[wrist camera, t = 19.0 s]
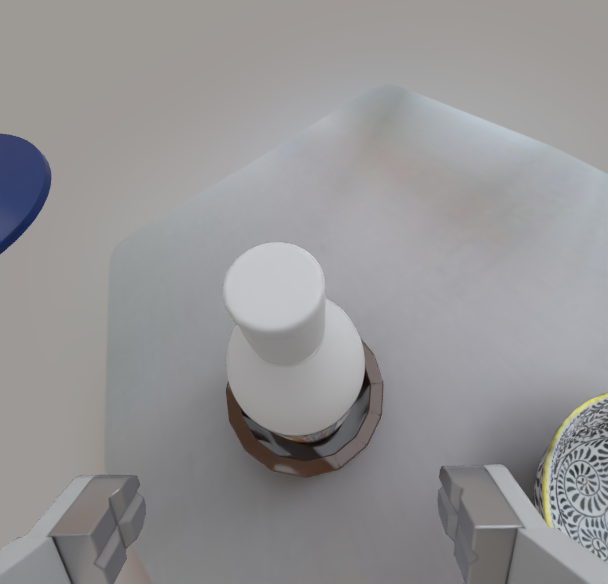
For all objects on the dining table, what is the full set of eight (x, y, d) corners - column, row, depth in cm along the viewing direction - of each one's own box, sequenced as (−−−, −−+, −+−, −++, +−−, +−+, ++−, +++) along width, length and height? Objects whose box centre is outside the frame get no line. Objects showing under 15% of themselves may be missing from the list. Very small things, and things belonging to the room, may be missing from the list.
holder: (291, 503, 24) (281, 517, 18) (223, 385, 28) (200, 369, 23) (398, 415, 26) (417, 404, 21) (320, 318, 31) (319, 289, 25)
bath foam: (249, 398, 27) (101, 287, 9) (306, 342, 29) (278, 159, 11) (307, 464, 24) (261, 491, 6) (365, 397, 26) (453, 276, 8)
